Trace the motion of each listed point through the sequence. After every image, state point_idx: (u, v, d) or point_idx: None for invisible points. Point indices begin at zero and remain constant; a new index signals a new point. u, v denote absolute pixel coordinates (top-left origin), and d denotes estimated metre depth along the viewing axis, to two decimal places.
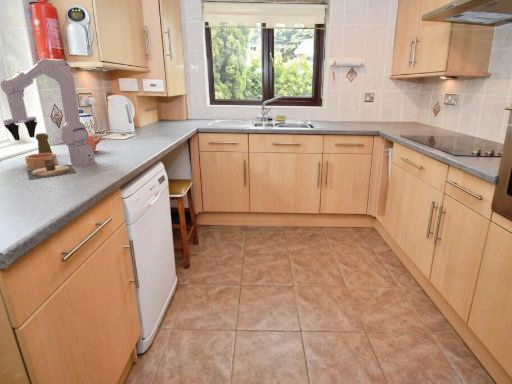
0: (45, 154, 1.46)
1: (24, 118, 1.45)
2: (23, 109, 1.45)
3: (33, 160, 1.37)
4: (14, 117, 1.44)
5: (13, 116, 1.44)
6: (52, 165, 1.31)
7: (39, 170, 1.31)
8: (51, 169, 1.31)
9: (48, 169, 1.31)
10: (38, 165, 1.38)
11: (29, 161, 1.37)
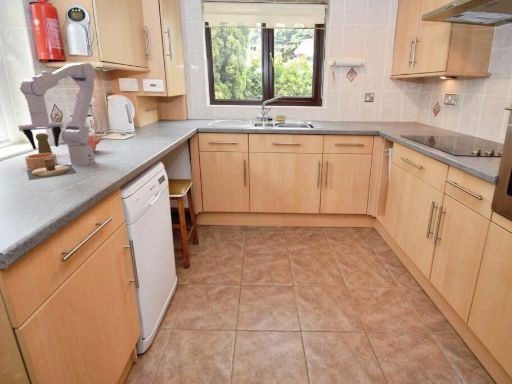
0: (45, 154, 1.46)
1: (41, 124, 1.24)
2: (40, 114, 1.23)
3: (33, 160, 1.37)
4: (32, 123, 1.24)
5: None
6: (52, 165, 1.31)
7: (39, 170, 1.31)
8: (51, 169, 1.31)
9: (48, 169, 1.31)
10: (38, 165, 1.38)
11: (29, 161, 1.37)
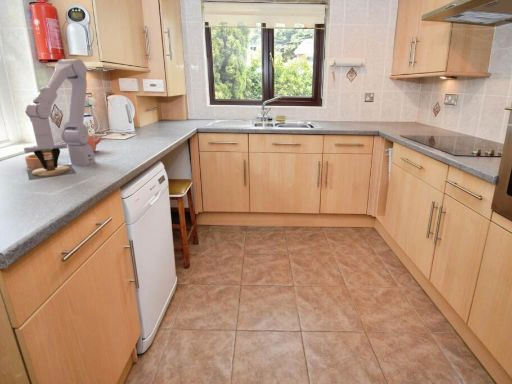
0: (45, 154, 1.46)
1: (46, 146, 1.27)
2: (45, 136, 1.26)
3: (33, 160, 1.37)
4: (37, 144, 1.27)
5: None
6: (52, 165, 1.31)
7: (39, 170, 1.31)
8: (51, 169, 1.31)
9: (48, 169, 1.31)
10: (38, 165, 1.38)
11: (29, 161, 1.37)
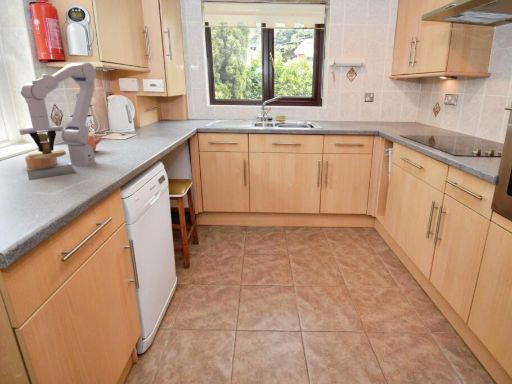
0: None
1: (41, 128, 1.25)
2: (41, 118, 1.24)
3: (33, 160, 1.37)
4: None
5: (32, 125, 1.25)
6: (48, 148, 1.29)
7: (35, 153, 1.30)
8: (47, 152, 1.29)
9: (44, 152, 1.29)
10: (38, 165, 1.38)
11: (29, 161, 1.37)
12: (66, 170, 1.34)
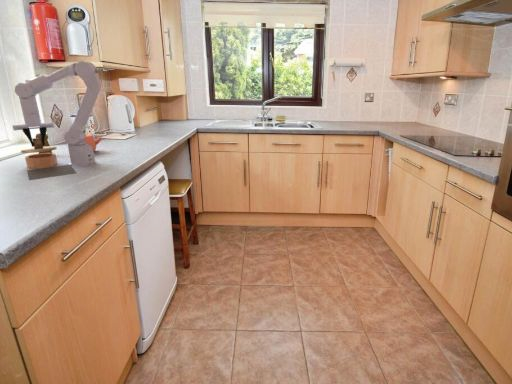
0: (45, 154, 1.46)
1: (32, 124, 1.35)
2: (32, 115, 1.34)
3: (33, 160, 1.37)
4: (25, 123, 1.35)
5: None
6: (39, 144, 1.39)
7: (28, 149, 1.40)
8: (38, 147, 1.39)
9: (36, 147, 1.38)
10: (38, 165, 1.38)
11: (29, 161, 1.37)
12: (66, 170, 1.34)
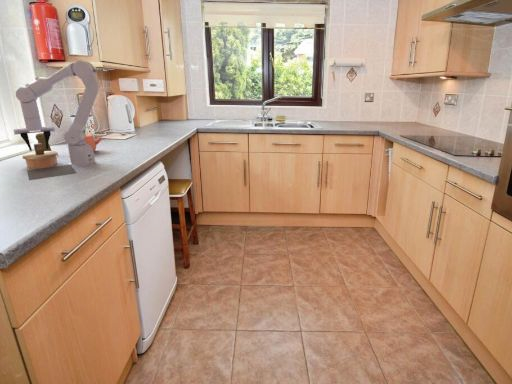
0: None
1: (33, 128, 1.35)
2: (33, 119, 1.34)
3: (33, 160, 1.37)
4: (26, 127, 1.36)
5: None
6: (41, 150, 1.39)
7: (29, 154, 1.40)
8: (40, 153, 1.40)
9: (37, 153, 1.39)
10: (38, 165, 1.38)
11: (29, 161, 1.37)
12: (66, 170, 1.34)
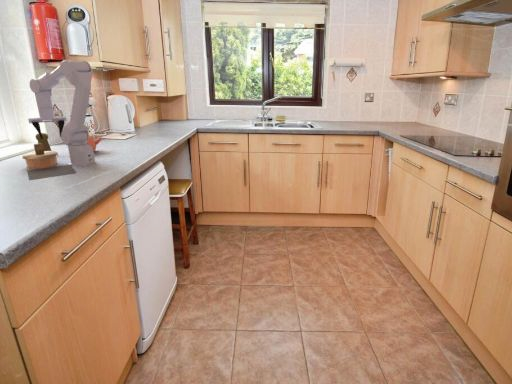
0: None
1: (47, 118, 1.44)
2: (46, 109, 1.43)
3: (33, 160, 1.37)
4: None
5: (39, 115, 1.45)
6: (41, 150, 1.39)
7: (29, 154, 1.40)
8: (40, 153, 1.40)
9: (37, 153, 1.39)
10: (38, 165, 1.38)
11: (29, 161, 1.37)
12: (66, 170, 1.34)
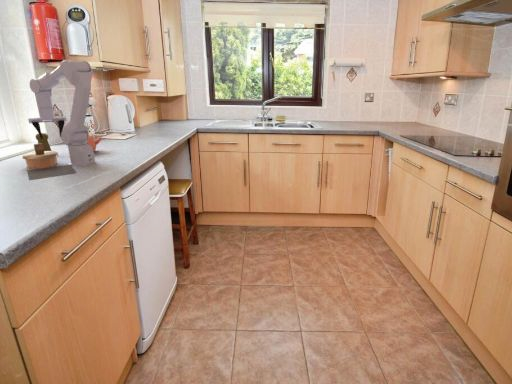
0: None
1: (47, 118, 1.44)
2: (46, 109, 1.43)
3: (33, 160, 1.37)
4: None
5: (39, 115, 1.45)
6: (41, 150, 1.39)
7: (29, 154, 1.40)
8: (40, 153, 1.40)
9: (37, 153, 1.39)
10: (38, 165, 1.38)
11: (29, 161, 1.37)
12: (66, 170, 1.34)
